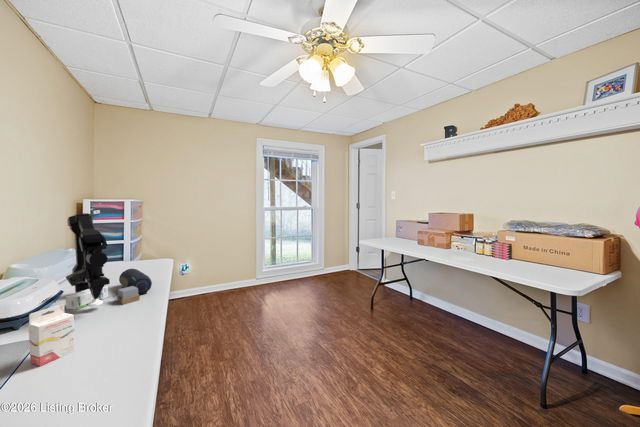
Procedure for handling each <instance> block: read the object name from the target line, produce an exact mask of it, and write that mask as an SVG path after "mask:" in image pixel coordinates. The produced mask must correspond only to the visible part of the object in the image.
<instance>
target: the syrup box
mask: <svg viewBox="0 0 640 427" xmlns="http://www.w3.org/2000/svg"><path fill="white" fill-rule="evenodd" d="M108 287H109V286H107V285H104V287H103V289H102V291H101V293H100V295H99V297H98V299H99V300H102V301H104V300H105V299H108V298H109V291H108V290H109V288H108ZM92 300H93V297H92V294H91V292H90V289H87V290H84V291H81V292H78V293H75V292H74V293H73V294H69V295H67V296H65V308H66V310H80V309H83V308H84V307H89V306H88V303H90V302H92Z"/></svg>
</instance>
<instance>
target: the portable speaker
mask: <svg viewBox="0 0 640 427" xmlns="http://www.w3.org/2000/svg"><path fill="white" fill-rule="evenodd" d="M118 278H119V279H118V280H119V284H120V285H121V286H122V287H123V288H126V287H130V286H134V287H136V288H138V294H139V296H140V295H143V294H145V293H147V292H148V291H150V289H151V288H152V284H153V282H152V279H151V277H149V276H148V275H147V274H145V273H144V272H141V271H140V270H138V269H136V268H129V269H126V270H124V271H122V272H121V274H120V275H119V277H118Z"/></svg>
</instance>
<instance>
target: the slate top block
mask: <svg viewBox="0 0 640 427" xmlns="http://www.w3.org/2000/svg"><path fill="white" fill-rule="evenodd" d="M117 294H118V295H117V296H120V297H121V298H127V297H131V296H135V295H138V288H136V287H134V286H130V287H126V288H125V287H123V288H118V289H117Z"/></svg>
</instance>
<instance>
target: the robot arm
mask: <svg viewBox="0 0 640 427" xmlns="http://www.w3.org/2000/svg"><path fill="white" fill-rule="evenodd" d="M93 219H94V218H93V215H91V213H83V212H82V213H76V214H74V215H72V216H71V215H70V216H68V218H67V226H68V227H69V229H70V230H71V232H72V233H73V234H74V245H75V246H74V247H75V265H74V267H73V268H72V273H69V274H68V275H67V276H65V279H66V281H67V282H68V283H69V284H70V286H71V287H74V290H75V291H74V294H75V293H78V292H81V291H84V290H87V289H90V292H91V294H92V297H94V299H97V298H98V297H99V295H100V293H101V291H102V289H103V287H104V286H107V285H110V282H111V281H110V278H108V277H106V276H105V273H104V272H103V268H104V267H105V266H104V265H105V264H106V263H107V262H108V256H107V254H106V253H104V252H103V250H107V247H108V243H107V240H106V237H105V236H104V235H103V234H102V232H101V231H100V230H98V229H95V226H94V221H93Z"/></svg>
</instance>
